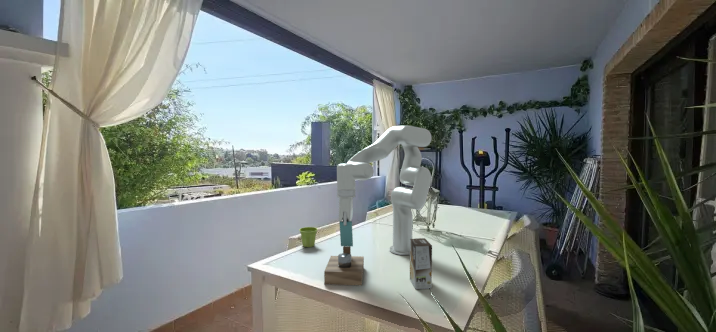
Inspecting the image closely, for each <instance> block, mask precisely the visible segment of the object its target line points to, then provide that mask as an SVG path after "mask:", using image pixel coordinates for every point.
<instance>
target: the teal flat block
mask: <svg viewBox="0 0 716 332" xmlns="http://www.w3.org/2000/svg"><path fill="white" fill-rule="evenodd" d="M338 222H339V221H338ZM339 235H340V236H339V237H340V239H339V240H340V247H343V246H351V247H354V240H353V239H354V238H353V235H354V234H353V221H352V220H351V221H350V222H349V221H347V226H344V221H343V220H342V221H340V222H339Z"/></svg>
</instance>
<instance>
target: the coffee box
mask: <svg viewBox="0 0 716 332" xmlns="http://www.w3.org/2000/svg"><path fill="white" fill-rule="evenodd" d="M432 272H433V245H432V244H431V242H429V241H428V240H427V238H425V237H424V238H423V237H422V238H421V237H419V238H416V237H415V238H412V239H410V255H409V280H410V283H412V286H413V288H414V289H415V290H424V289H425V290H426V289H429V288H430V289H432V287H433V286H432V285H433V284H432V282H433V281H432V277H433V276H432V274H433V273H432ZM430 289H429V290H430Z"/></svg>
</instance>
